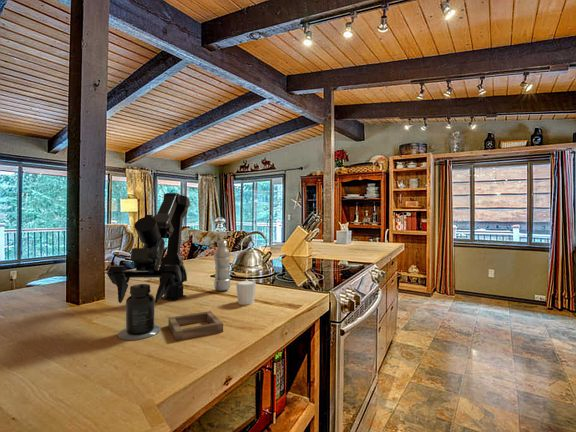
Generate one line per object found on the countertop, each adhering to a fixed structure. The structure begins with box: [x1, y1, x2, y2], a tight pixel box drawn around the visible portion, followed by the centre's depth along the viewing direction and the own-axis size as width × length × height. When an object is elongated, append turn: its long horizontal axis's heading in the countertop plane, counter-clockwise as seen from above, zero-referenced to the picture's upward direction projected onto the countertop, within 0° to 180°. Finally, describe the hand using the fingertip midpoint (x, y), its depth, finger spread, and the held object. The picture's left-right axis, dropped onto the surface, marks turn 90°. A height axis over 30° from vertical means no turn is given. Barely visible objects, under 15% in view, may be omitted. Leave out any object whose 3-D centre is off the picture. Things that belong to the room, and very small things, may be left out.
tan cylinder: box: [235, 280, 256, 306], centre depth 111 cm, size 7×7×7 cm
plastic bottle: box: [213, 240, 232, 292], centre depth 128 cm, size 6×7×20 cm
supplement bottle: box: [125, 283, 155, 335], centre depth 84 cm, size 7×7×12 cm
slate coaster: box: [117, 324, 161, 341], centre depth 84 cm, size 10×10×1 cm
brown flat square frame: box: [167, 310, 224, 342], centre depth 87 cm, size 12×12×2 cm
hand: (138, 301), depth 83 cm, fingers open, 9 cm apart
